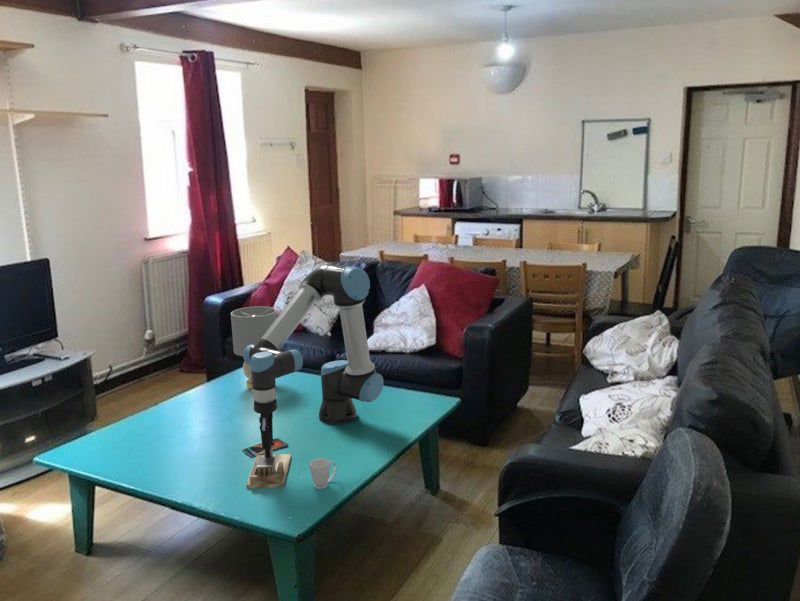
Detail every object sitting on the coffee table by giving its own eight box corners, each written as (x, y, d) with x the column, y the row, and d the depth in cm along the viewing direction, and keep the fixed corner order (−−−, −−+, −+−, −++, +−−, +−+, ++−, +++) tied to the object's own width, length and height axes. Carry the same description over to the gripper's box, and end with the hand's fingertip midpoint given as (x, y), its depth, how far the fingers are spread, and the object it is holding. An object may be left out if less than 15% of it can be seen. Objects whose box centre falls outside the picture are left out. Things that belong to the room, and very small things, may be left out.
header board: (291, 457, 246) (290, 438, 244) (283, 487, 224) (282, 467, 223) (257, 458, 245) (255, 439, 244) (246, 488, 224) (244, 468, 222)
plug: (275, 470, 233) (274, 456, 232) (272, 482, 225) (271, 466, 224) (260, 471, 233) (259, 456, 232) (257, 482, 225) (255, 467, 224)
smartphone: (241, 449, 252) (277, 437, 261) (241, 453, 252) (278, 440, 261) (251, 456, 246) (288, 443, 254) (251, 460, 246) (289, 447, 255)
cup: (305, 485, 225) (304, 462, 223) (329, 475, 232) (328, 452, 230) (319, 493, 220) (317, 469, 218) (343, 482, 227) (342, 459, 225)
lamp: (229, 392, 311) (223, 316, 303) (246, 378, 330) (241, 305, 322) (272, 394, 308) (267, 317, 300) (286, 379, 327) (282, 306, 319)
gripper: (256, 392, 236) (261, 456, 241) (250, 406, 223) (254, 474, 228) (278, 391, 236) (282, 456, 241) (273, 406, 223) (277, 473, 228)
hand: (269, 464), depth 235 cm, fingers closed
